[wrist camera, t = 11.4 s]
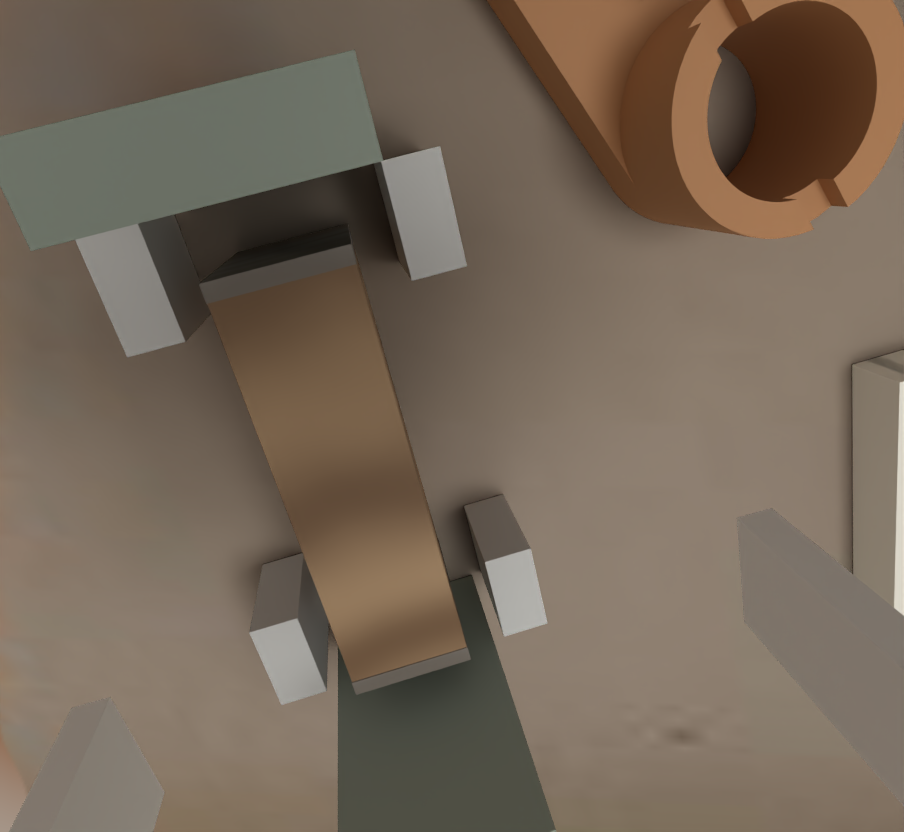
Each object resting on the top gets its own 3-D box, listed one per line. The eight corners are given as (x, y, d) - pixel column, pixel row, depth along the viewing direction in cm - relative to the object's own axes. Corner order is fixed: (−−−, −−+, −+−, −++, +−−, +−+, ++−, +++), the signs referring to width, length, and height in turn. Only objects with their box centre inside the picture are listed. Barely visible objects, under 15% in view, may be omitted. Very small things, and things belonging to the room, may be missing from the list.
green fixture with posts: (100, 173, 25) (-162, 175, 12) (409, 96, 25) (482, 18, 13) (302, 660, 34) (279, 966, 21) (526, 592, 34) (639, 847, 21)
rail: (238, 252, 26) (198, 283, 19) (347, 223, 27) (351, 243, 19) (352, 575, 32) (356, 694, 25) (441, 548, 33) (471, 659, 25)
